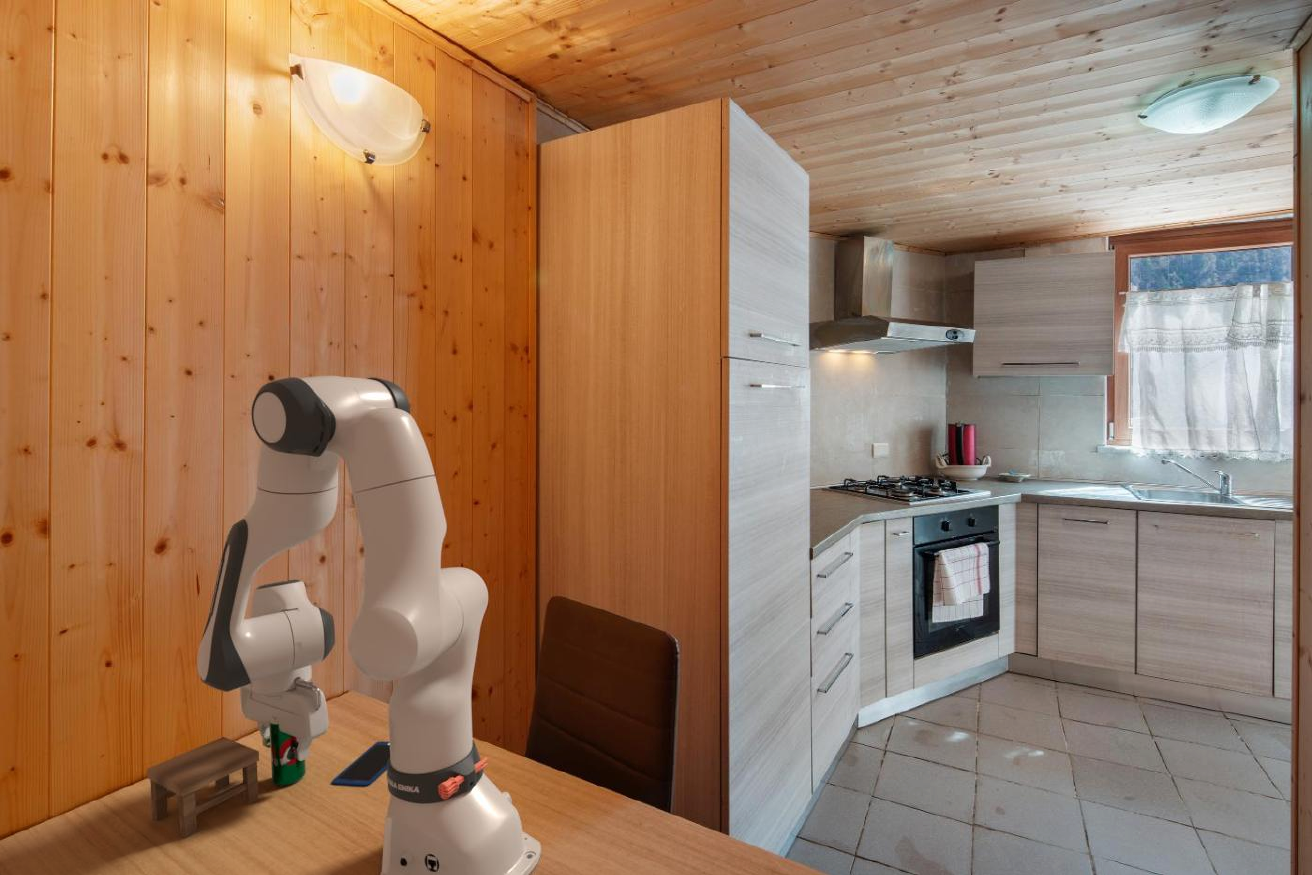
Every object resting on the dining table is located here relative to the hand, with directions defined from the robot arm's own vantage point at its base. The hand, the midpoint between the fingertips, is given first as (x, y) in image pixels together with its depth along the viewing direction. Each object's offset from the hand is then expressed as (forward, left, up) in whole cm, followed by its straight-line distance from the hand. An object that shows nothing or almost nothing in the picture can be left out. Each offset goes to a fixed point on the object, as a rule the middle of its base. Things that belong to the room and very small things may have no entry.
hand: (285, 751), depth 107 cm
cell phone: (-9, -10, -6) cm, 15 cm away
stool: (+4, +11, -5) cm, 12 cm away
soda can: (0, 0, -5) cm, 5 cm away
